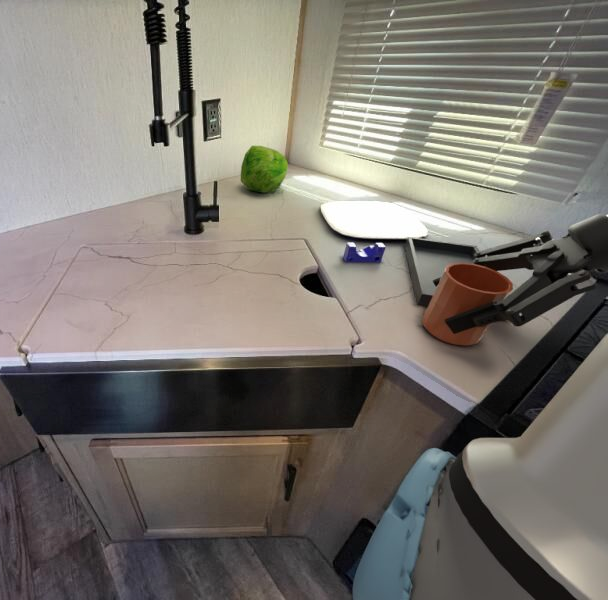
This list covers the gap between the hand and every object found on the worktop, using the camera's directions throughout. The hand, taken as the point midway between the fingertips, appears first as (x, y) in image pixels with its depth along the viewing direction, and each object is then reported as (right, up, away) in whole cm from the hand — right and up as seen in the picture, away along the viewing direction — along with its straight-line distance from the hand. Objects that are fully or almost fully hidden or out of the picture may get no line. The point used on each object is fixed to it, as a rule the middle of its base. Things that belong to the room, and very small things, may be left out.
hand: (442, 305), depth 59 cm
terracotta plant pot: (+3, -4, +2) cm, 5 cm away
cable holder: (-4, +10, +22) cm, 25 cm away
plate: (+5, +22, +39) cm, 45 cm away
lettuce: (-21, +39, +61) cm, 75 cm away
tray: (+12, +6, +16) cm, 20 cm away
